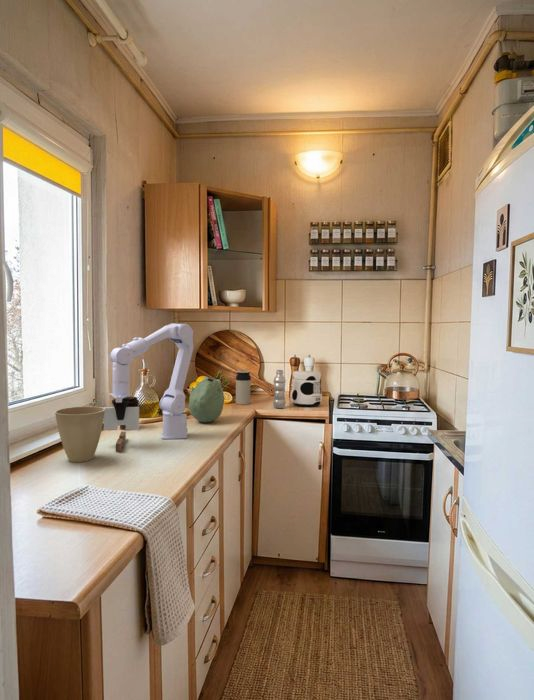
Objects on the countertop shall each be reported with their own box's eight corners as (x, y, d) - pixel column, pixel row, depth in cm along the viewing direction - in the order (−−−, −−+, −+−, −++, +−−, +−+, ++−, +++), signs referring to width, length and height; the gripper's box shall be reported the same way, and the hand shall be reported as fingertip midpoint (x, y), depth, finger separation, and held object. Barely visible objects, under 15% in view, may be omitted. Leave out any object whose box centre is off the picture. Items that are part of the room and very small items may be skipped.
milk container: (291, 401, 270) (292, 370, 269) (322, 403, 267) (323, 371, 266) (288, 407, 253) (289, 373, 251) (321, 408, 250) (322, 374, 249)
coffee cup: (132, 431, 191) (132, 399, 190) (113, 430, 193) (113, 398, 192) (142, 426, 200) (142, 396, 199) (123, 425, 201) (123, 395, 201)
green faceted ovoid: (182, 425, 204) (182, 379, 202) (196, 416, 222) (196, 374, 221) (217, 427, 201) (218, 380, 200) (228, 418, 220) (229, 375, 218)
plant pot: (108, 451, 162) (108, 405, 161) (100, 465, 147) (100, 414, 146) (61, 453, 159) (61, 406, 158) (49, 466, 145) (49, 415, 144)
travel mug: (238, 405, 255) (239, 371, 254) (233, 402, 262) (234, 370, 261) (252, 404, 258) (252, 371, 257) (247, 402, 265) (247, 370, 264)
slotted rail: (125, 439, 179) (125, 431, 179) (120, 452, 161) (120, 443, 161) (121, 439, 179) (121, 431, 178) (115, 452, 161) (115, 443, 161)
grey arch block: (138, 428, 172) (139, 406, 171) (138, 429, 170) (138, 407, 169) (104, 429, 169) (104, 407, 169) (103, 430, 168) (103, 408, 167)
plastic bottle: (286, 407, 251) (287, 370, 250) (283, 409, 245) (283, 371, 243) (275, 406, 253) (276, 369, 252) (271, 408, 247) (271, 370, 245)
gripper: (111, 378, 175) (111, 415, 176) (106, 384, 161) (106, 423, 161) (131, 378, 176) (131, 415, 177) (128, 384, 162) (127, 423, 163)
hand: (120, 419), depth 169 cm, fingers closed on grey arch block, 2 cm apart
